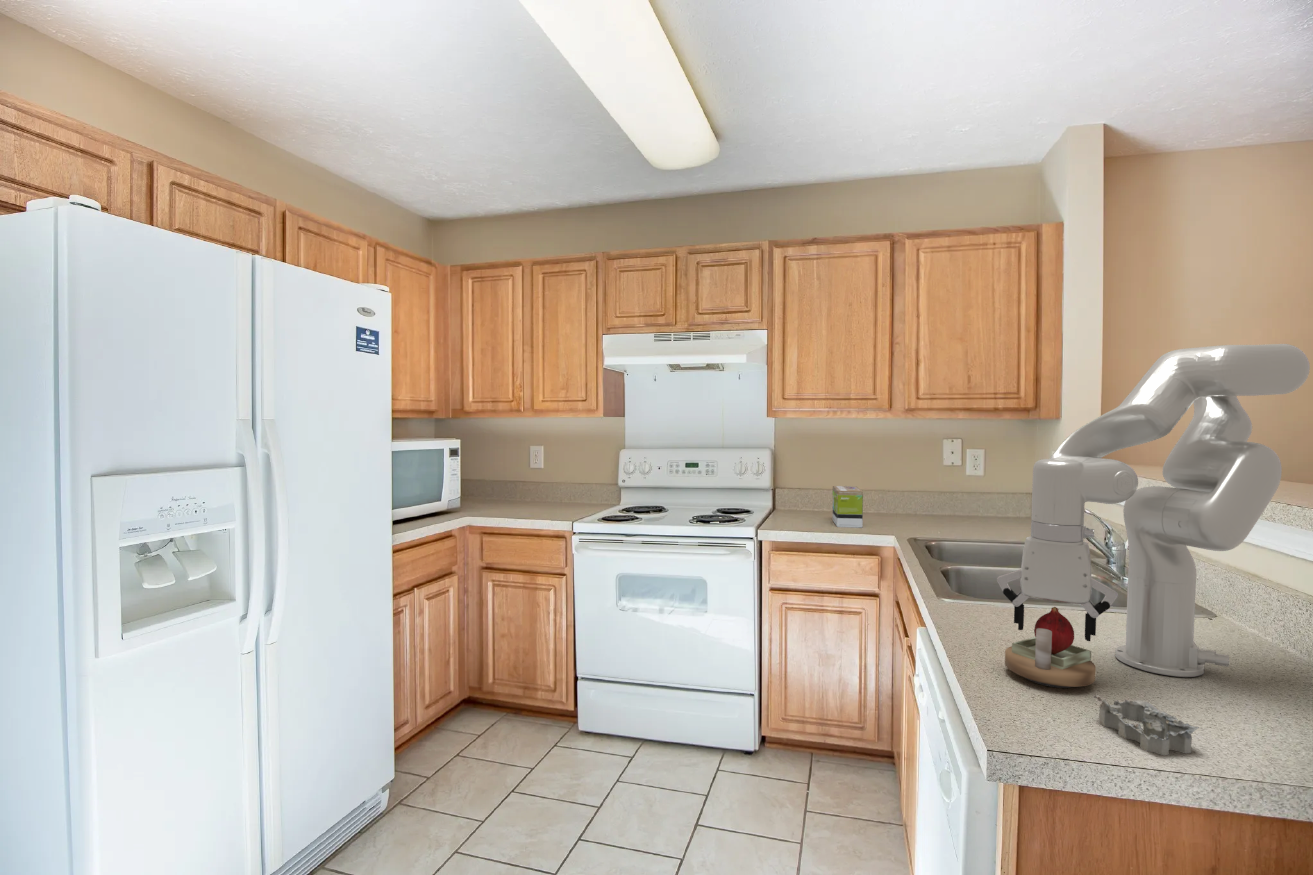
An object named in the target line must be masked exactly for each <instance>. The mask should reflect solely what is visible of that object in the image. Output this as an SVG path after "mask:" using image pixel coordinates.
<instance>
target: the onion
mask: <svg viewBox="0 0 1313 875" xmlns="http://www.w3.org/2000/svg"><path fill="white" fill-rule="evenodd" d="M1038 628H1042V629H1048V630H1050V631H1052V646H1051V654H1057V653H1059V652H1062V651H1064V650H1066V649H1067V648H1069V647H1070V646H1071V645H1073V644H1074V641H1075V630H1074V626H1073V625H1072V622H1070V620H1068V618H1066V617H1065V615H1063V614H1061V612H1060V611H1059V608H1058V607H1056V606H1052V607H1051V610H1050V611H1049V612H1047V613H1044V614H1043V615H1042V616H1040V617H1039V618H1038V619H1037V620H1036V622H1035V624H1034V629H1033V631H1034V632H1033V633H1034V637H1036V629H1038Z"/></svg>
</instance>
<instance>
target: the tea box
mask: <svg viewBox="0 0 1313 875" xmlns="http://www.w3.org/2000/svg"><path fill="white" fill-rule="evenodd" d="M863 509H864V491H863V490H862V489H860V488H859V487H858V486H853V485H852V486H851V485H849V486H847V485H834V486H832V521H833V522H834V524H835V526H836V527H837V528H850V529H852V528H853V529H855V528H857V529H860V528H861V529H862V528H863V524H864V523H863V521H864V518H863V516H864V515H863V513H864V510H863Z"/></svg>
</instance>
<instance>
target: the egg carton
mask: <svg viewBox="0 0 1313 875" xmlns="http://www.w3.org/2000/svg"><path fill="white" fill-rule="evenodd" d="M1093 697H1094V699H1097V701H1098V702H1101V703H1100V705H1099V710H1098V711H1099V713H1098V719H1099V720H1098V721H1099V722H1098V723H1099V725H1101V726H1102V727H1106V728H1111V729H1114V730H1117V731H1118V736H1119V737H1122V738H1124V739H1127V740H1132V741H1135V742H1138V743H1140V744H1139V748H1141V749H1142V750H1144V751H1145V752H1151V753H1155V754H1159V755H1161V756H1169V755H1170V753H1169V752H1170V750H1171V751H1175V752H1180V753H1183V754H1191V753H1192V740H1193V739H1192V738H1193V737H1192V734H1194V732H1195V731H1197V730H1198V729H1199V728H1200V727H1199V726H1193V725H1190V724H1189V723H1184V722H1183V720H1181V719H1179V720H1178V718H1177V717H1176V716H1175V715H1170V714H1169V713H1167V712H1165V711H1163V710H1160V709H1158V707H1156V706H1154V705H1153V704H1152V703H1151V702H1148V701H1147V700H1127V699H1125V700H1124V701H1122V702H1121V701H1119V700H1117V699H1116V700H1115V701H1114V702H1113V704H1112V705H1111V704H1110V703H1109V702H1108V701H1107V699H1106V698H1104V697H1103V698H1102V697H1101V696H1100V695H1098V694H1094V695H1093ZM1123 718H1126V719H1129V720H1131V721H1139V722H1142V726H1141V724H1140V723H1136V724H1133V723H1130V722H1128V723H1125V721H1124V720H1123ZM1142 727H1143V728H1142Z"/></svg>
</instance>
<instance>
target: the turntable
mask: <svg viewBox="0 0 1313 875" xmlns="http://www.w3.org/2000/svg"><path fill="white" fill-rule="evenodd" d="M1051 646H1052V631H1050V630H1048V629H1042V628H1038V629H1036V637H1035V636H1034V637H1030V638H1027V639H1026V638H1025V639H1023V640H1018V641H1015V642H1011V645H1010V646H1008V647H1007V648H1005V650H1004V665H1005V667H1006V668H1008V670H1009V671H1011V672H1012V673H1014V674H1016V675H1018V676H1020V677H1023V678H1024V677H1025V679H1026V678H1028V679H1031V680H1034V681H1038V682H1042V683H1047V684H1052V685H1059V686H1070V688H1074V687H1078V688H1079V687H1087V686H1090V685H1092V684H1094V683H1095V682H1096V671H1097V670H1096V669H1097V668H1096V664H1095V663H1094V662H1093V661H1092V650H1090V649H1087V648H1083V647H1080V646H1077V645H1073V644H1072V645H1071V646H1070V647H1069V648H1067V649H1066V650H1064V651H1062V652H1059V653H1057V654H1051ZM1028 679H1027V680H1028Z"/></svg>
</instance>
